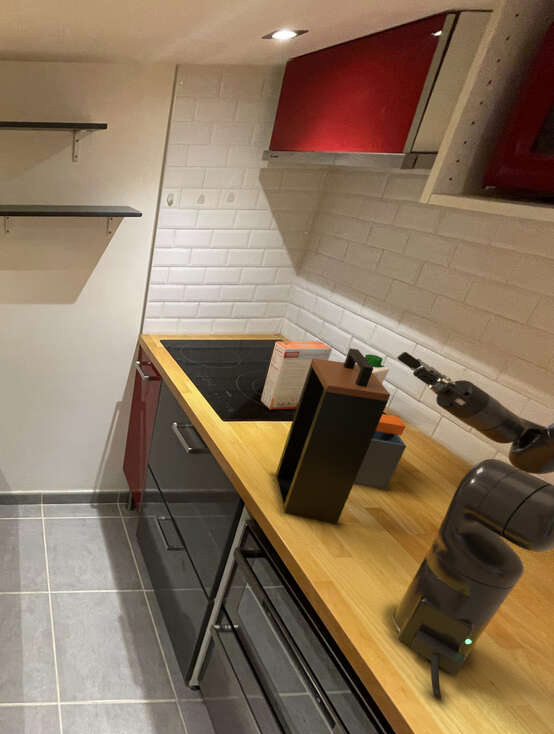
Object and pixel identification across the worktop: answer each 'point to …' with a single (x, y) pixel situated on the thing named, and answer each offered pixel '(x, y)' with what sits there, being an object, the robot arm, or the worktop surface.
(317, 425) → the box
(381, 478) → the blue open bin
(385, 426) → the bar
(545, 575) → the worktop surface
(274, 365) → the cracker box
